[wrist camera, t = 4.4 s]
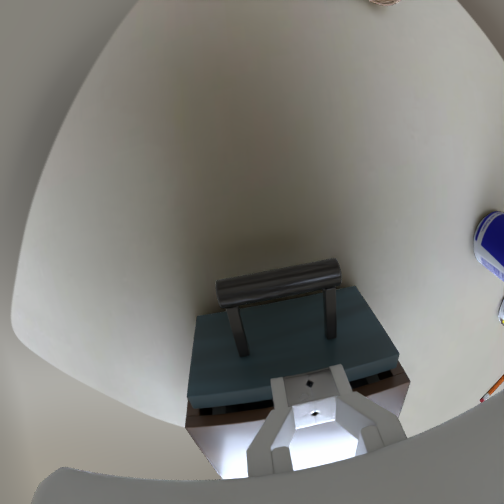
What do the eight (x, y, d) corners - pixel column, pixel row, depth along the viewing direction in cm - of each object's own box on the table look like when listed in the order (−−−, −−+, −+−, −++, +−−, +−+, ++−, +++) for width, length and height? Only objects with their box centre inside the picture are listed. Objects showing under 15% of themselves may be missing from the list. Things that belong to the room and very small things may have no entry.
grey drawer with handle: (176, 253, 19) (151, 325, 12) (353, 220, 18) (411, 274, 12) (236, 419, 26) (239, 483, 20) (349, 397, 26) (371, 456, 19)
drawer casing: (196, 327, 22) (184, 427, 14) (358, 296, 22) (411, 381, 14) (235, 427, 28) (239, 500, 20) (350, 404, 28) (375, 473, 20)
